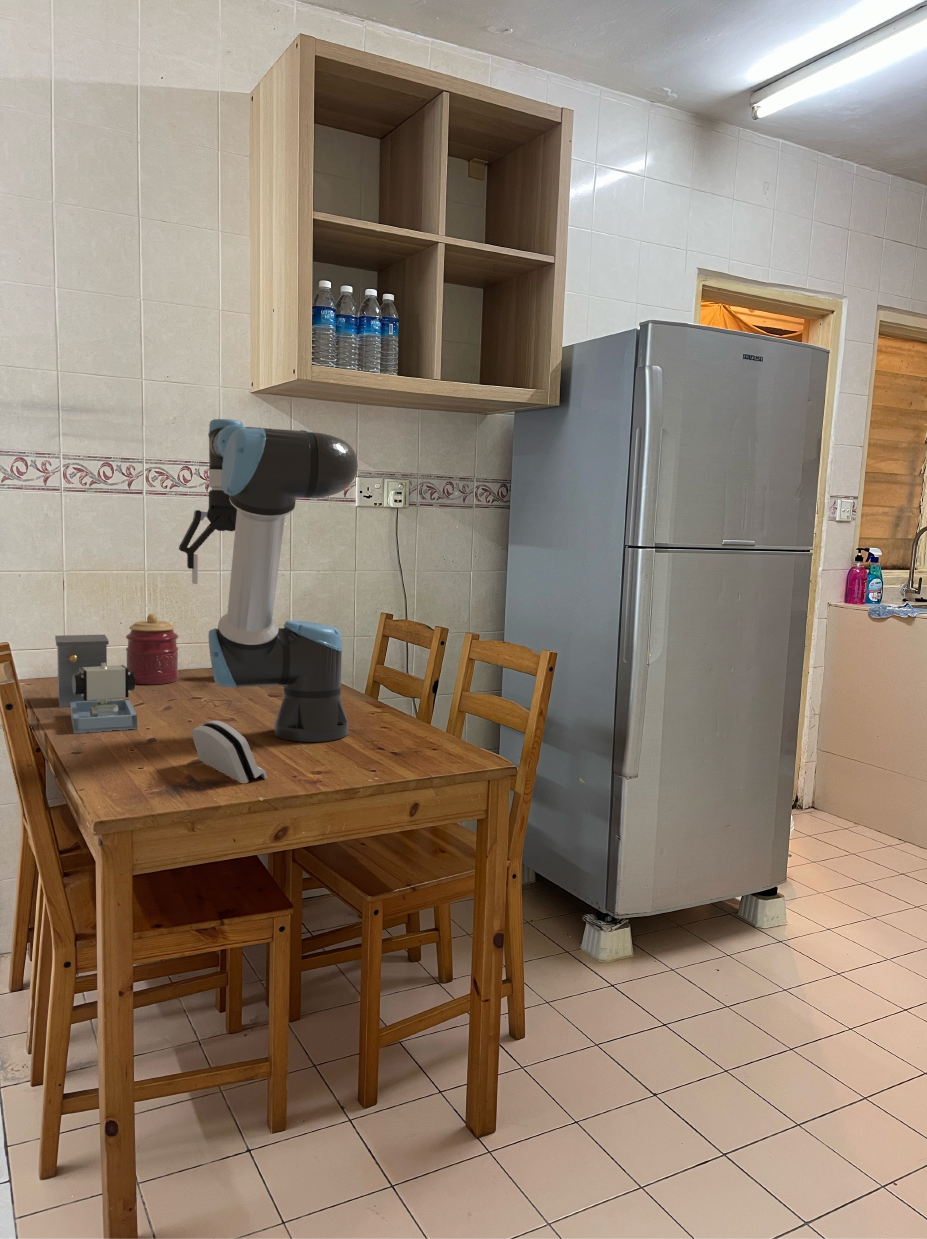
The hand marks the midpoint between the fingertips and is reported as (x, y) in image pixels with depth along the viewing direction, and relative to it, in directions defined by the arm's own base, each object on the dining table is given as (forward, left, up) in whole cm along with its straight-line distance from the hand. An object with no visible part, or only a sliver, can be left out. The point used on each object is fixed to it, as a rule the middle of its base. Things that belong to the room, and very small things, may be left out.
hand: (225, 583), depth 206 cm
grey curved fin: (-52, +9, -29) cm, 60 cm away
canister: (+36, +12, -29) cm, 48 cm away
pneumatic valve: (-8, +27, -28) cm, 40 cm away
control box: (+14, +30, -29) cm, 44 cm away
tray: (-8, +27, -29) cm, 40 cm away
